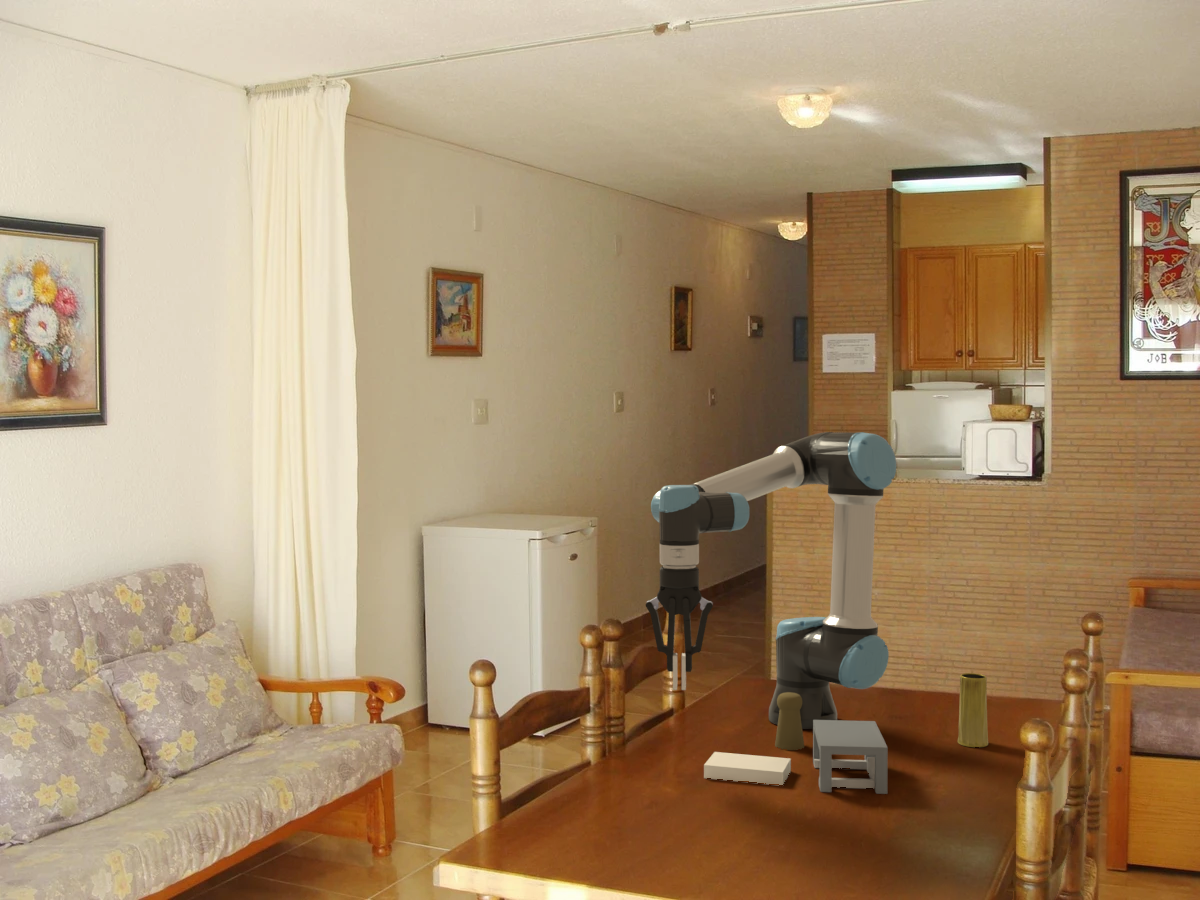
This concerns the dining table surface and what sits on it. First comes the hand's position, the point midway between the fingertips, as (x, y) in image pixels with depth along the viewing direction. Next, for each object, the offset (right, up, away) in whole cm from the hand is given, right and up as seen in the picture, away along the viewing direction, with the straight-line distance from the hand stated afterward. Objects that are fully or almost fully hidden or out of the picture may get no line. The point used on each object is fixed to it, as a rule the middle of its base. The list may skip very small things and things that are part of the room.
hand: (679, 688), depth 227 cm
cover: (+13, -17, -1) cm, 21 cm away
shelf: (+32, -16, -3) cm, 36 cm away
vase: (+62, -16, +19) cm, 67 cm away
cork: (+24, -16, +18) cm, 34 cm away
